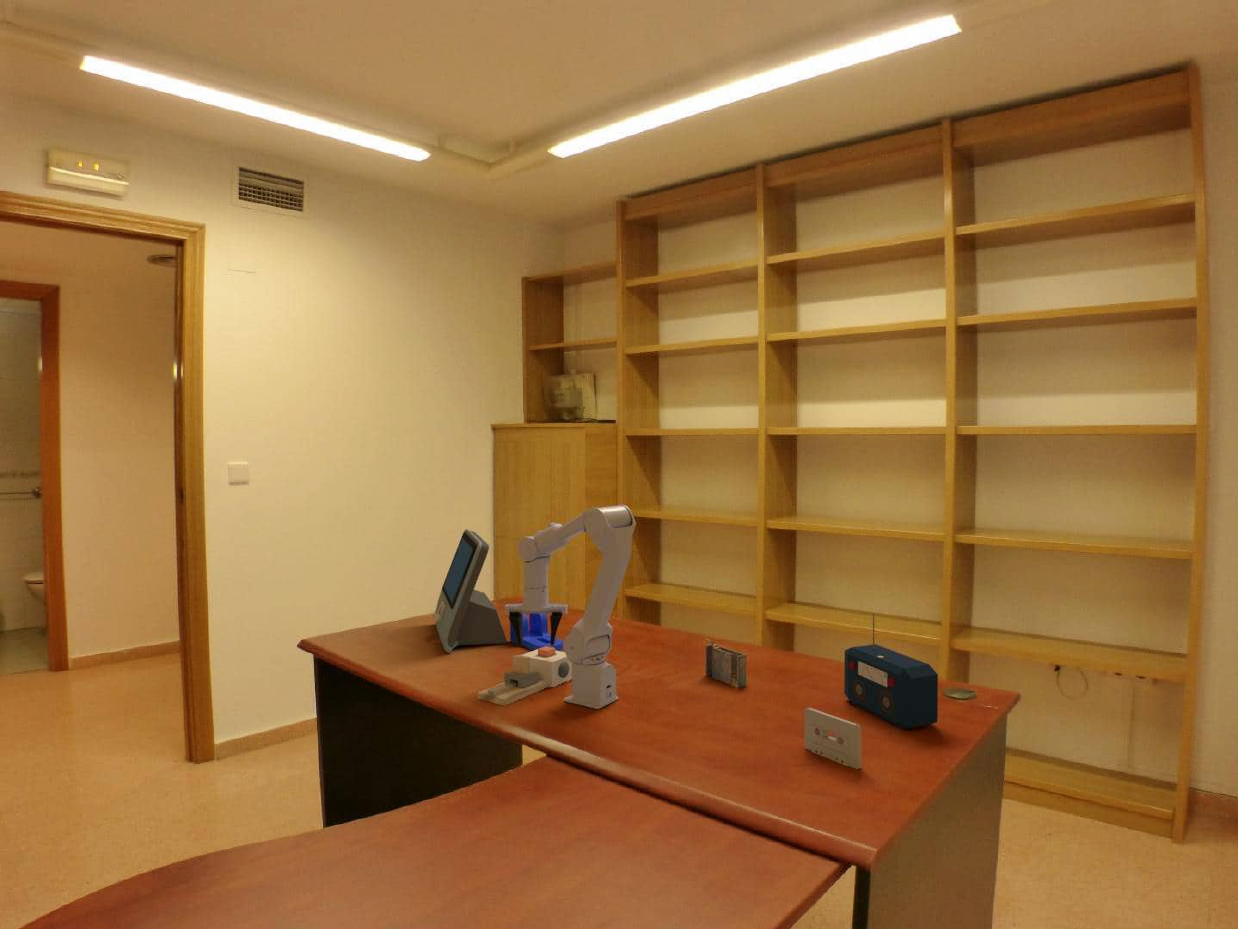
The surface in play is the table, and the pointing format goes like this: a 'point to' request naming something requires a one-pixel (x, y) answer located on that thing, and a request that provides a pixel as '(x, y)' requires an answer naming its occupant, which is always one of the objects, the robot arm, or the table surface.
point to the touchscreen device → (467, 600)
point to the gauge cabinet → (551, 667)
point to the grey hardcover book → (725, 664)
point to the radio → (891, 685)
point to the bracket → (535, 633)
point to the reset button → (546, 652)
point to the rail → (503, 688)
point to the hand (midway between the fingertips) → (536, 644)
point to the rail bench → (512, 693)
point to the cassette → (838, 749)
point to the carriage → (521, 672)
